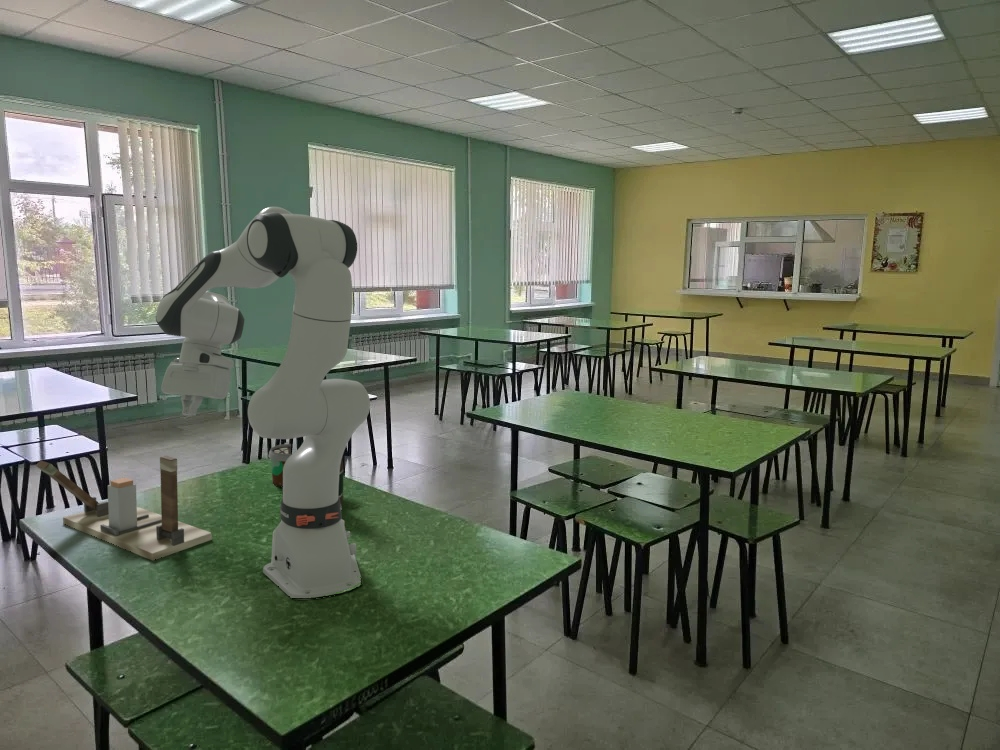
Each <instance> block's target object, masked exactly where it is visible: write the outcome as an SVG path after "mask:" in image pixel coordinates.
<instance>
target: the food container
mask: <svg viewBox="0 0 1000 750" xmlns="http://www.w3.org/2000/svg"><path fill="white" fill-rule="evenodd" d="M291 451H292V444H291V443H285V444H284V443H283V444H278V445H275V446H272V447H271V448H270V450H269V452H268V456H267V457H268V459H270V464H271V477H272V484H274V486H275V485H277V486H276V487H278V486H283V467H284V464H285V462H286V460H287V459H288V458H289V457H290V456H291V455H292V452H291Z"/></svg>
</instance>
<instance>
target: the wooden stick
mask: <svg viewBox="0 0 1000 750" xmlns="http://www.w3.org/2000/svg"><path fill="white" fill-rule="evenodd" d="M35 466H36V467H37V469H39V470H41V472H43V473H45V474H46V475H47V476H49V477H50V478H52V479H53V480H54V481H55V482H56V483H57V484H59V486H61V487H63V488H64V489H65V490H66V491H68V492H69V493H70V494H72V495H73V496H74V497H75V498H77V499H78V500H79V501H80V502H82V503H83V505H84V504H86V505H87V506H88V508H89V509H92V510H94V511H97V507H96V504H99V503H100V502H99V501H97V499H96V500H95V499H93V498H92V496H91V495H90V494H89V493H87V492H86V491H85V490H83V489H82V488H81V487H80V486H78V485H77V484H76V483H75V482H74V481H72V480H71V479H70V478H69V477H68V476H66V475H65V474H63V473H62V472H61V471H60V470H59V469H58V468H57V467H55V466H54V465H53V464H52V463H50V462H47V461H44V460H41V459H40V460H39V461H38V462H37V463H36V464H35Z"/></svg>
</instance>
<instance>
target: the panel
mask: <svg viewBox="0 0 1000 750" xmlns="http://www.w3.org/2000/svg"><path fill="white" fill-rule="evenodd" d="M91 497H92V496H91ZM92 498H93V499H95V500H96V501H97V497H96V496H93V497H92ZM98 503H99V504H96V507H97V511H94V510H92V509H89V508H88V506H87V505H86V504H84V503H83V507H84V508H83V509H84V511H81V512H78V513H74V514H70V515H67V516H63V517H62V522H63V523H62V524H63V525H65V524H66V525H65V526H67V525H68V527H69V526H70V528H72V527H73V528H72V529H74V528H75V530H77V531H80V532H82V533H85V534H86V535H89V536H91V535H92V537H94V536H95V537H94V538H96V537H97V539H99V540H101V539H102V540H101V541H104V540H105V541H104V542H106V541H107V542H106V543H108V542H109V544H111V543H112V544H111V545H113V544H114V545H113V546H116V545H117V546H116V547H118V546H119V547H118V548H121V549H123V550H125V549H126V551H128V552H130V551H131V553H133V554H135V555H137V556H140V557H142V558H145V559H148V560H150V561H153V562H154V561H155V559H156V560H159V559H162V558H165V557H168V556H169V555H172V554H176V553H178V552H180V551H181V552H182V551H184V550H187V549H189V548H190V549H191V548H192V547H195V546H197V545H201V544H204V543H206V542H210V541H212V540H213V539H212V536H213V535H212V534H213V533H212V532H211V531H208V530H205V529H201V528H200V527H196V526H193V525H190V524H188V523H185V522H182V521H179V520H178V530H175V531H172V532H171V539H169V538H166V537H163V536H162V535H161V531H162V530H163V529H162V516H161V514H159V513H156V512H155V511H151V510H148V509H146V508H145V509H144V508H142V507H139V506H137V527H133V528H130V529H127V530H123V531H120V532H119V530H117V529H114V528H111V527H109V510H108V500H106V501H103V502H98ZM161 557H162V558H161Z"/></svg>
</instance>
